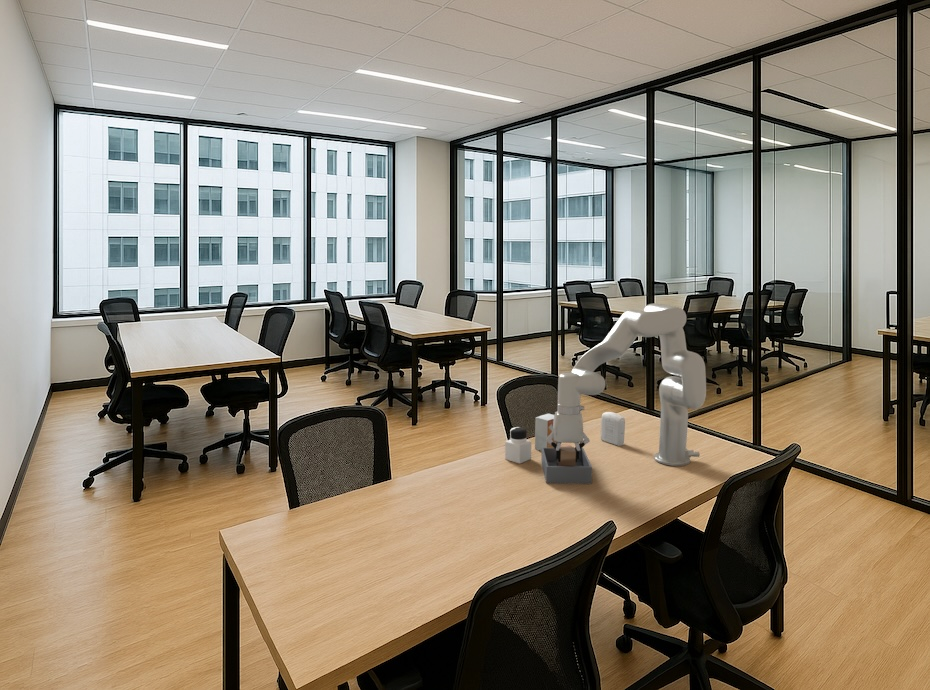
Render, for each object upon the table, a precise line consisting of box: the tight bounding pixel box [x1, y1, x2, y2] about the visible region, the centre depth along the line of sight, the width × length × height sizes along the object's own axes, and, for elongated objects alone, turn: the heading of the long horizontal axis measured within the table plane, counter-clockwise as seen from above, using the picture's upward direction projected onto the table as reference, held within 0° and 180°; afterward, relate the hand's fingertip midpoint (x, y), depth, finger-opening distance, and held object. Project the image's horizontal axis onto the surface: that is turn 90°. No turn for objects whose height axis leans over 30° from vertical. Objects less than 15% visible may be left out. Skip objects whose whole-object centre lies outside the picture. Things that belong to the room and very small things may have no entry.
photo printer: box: [600, 411, 626, 447], centre depth 244 cm, size 10×4×12 cm, turn 36°
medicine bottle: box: [504, 426, 532, 464], centre depth 226 cm, size 7×7×12 cm
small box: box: [534, 413, 556, 452], centre depth 237 cm, size 8×6×13 cm
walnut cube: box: [560, 446, 576, 466], centre depth 207 cm, size 5×5×5 cm
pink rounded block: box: [557, 443, 573, 466], centre depth 218 cm, size 5×5×7 cm
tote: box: [540, 447, 593, 485], centre depth 213 cm, size 15×19×6 cm
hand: (567, 460), depth 208 cm, fingers closed on walnut cube, 5 cm apart
